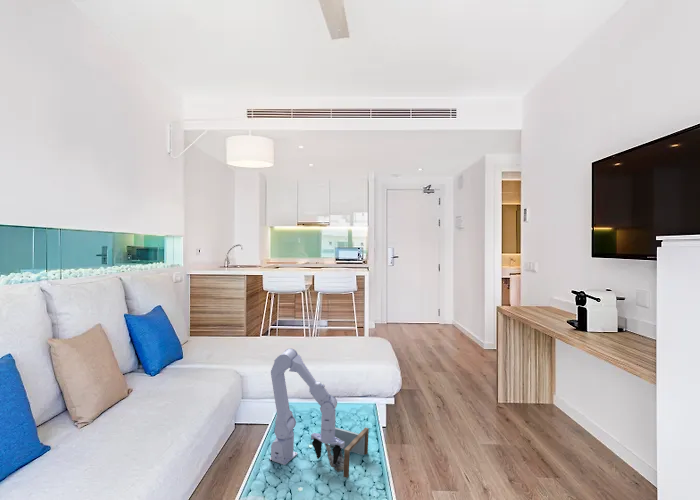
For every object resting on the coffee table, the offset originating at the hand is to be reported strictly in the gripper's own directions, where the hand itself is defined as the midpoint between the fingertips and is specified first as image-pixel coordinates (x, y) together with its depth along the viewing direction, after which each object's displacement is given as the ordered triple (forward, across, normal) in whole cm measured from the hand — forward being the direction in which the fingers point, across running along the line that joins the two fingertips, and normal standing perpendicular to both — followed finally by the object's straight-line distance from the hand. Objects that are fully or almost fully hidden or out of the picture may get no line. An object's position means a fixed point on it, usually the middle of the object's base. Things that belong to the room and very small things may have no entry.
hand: (327, 460), depth 165 cm
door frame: (+1, -11, -5) cm, 12 cm away
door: (+1, -3, -12) cm, 12 cm away
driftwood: (+2, -2, -5) cm, 6 cm away
